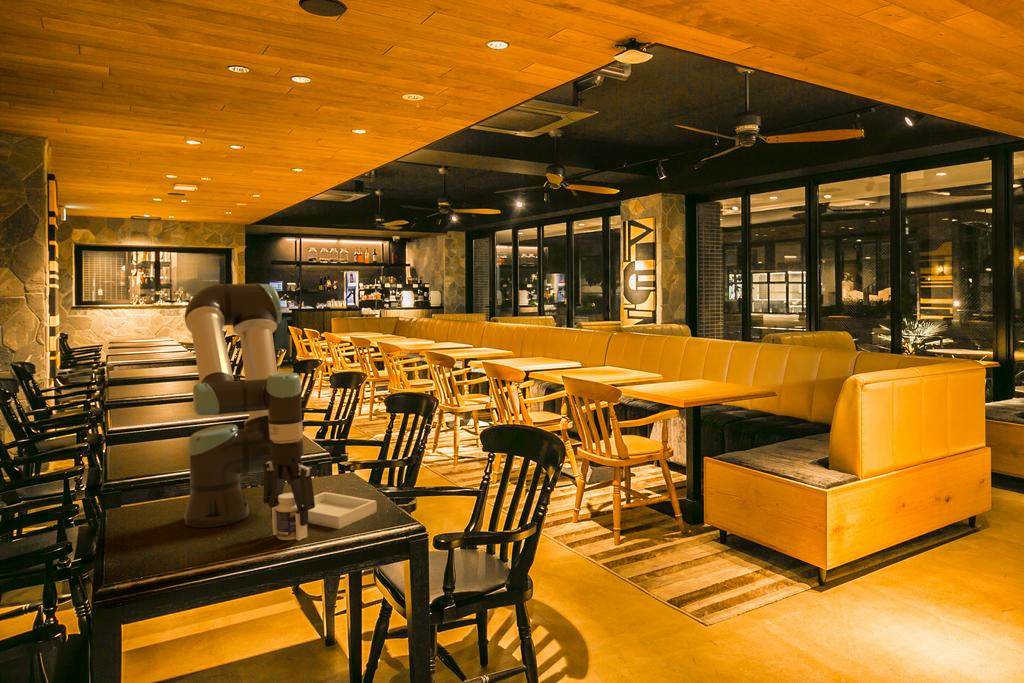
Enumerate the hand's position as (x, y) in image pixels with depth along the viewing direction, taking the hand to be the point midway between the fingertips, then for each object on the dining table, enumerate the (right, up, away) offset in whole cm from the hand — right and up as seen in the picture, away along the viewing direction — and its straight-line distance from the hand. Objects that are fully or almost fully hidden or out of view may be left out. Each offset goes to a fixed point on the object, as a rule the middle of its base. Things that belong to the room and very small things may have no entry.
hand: (290, 535), depth 160 cm
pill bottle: (0, 0, 0) cm, 0 cm away
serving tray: (+6, +1, +15) cm, 16 cm away
